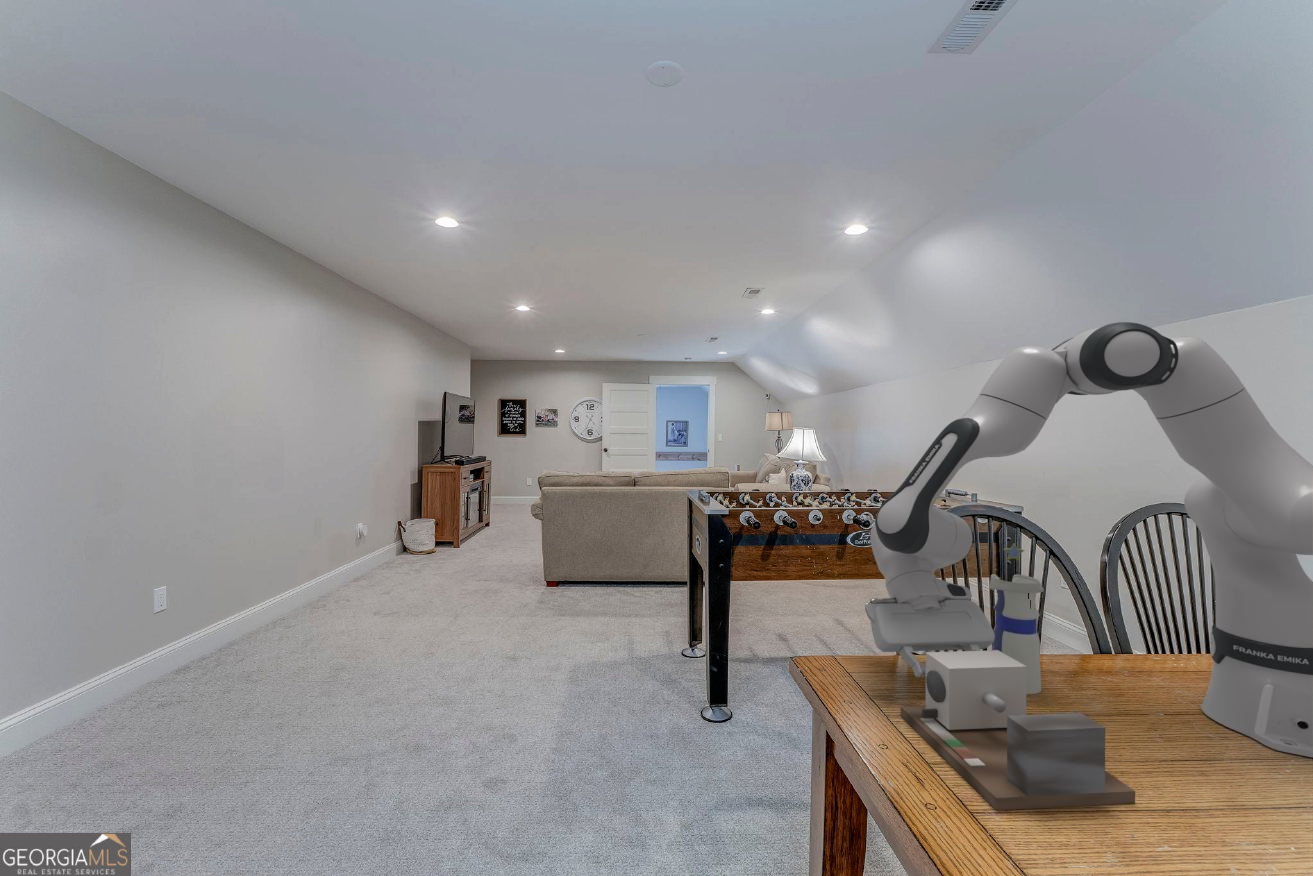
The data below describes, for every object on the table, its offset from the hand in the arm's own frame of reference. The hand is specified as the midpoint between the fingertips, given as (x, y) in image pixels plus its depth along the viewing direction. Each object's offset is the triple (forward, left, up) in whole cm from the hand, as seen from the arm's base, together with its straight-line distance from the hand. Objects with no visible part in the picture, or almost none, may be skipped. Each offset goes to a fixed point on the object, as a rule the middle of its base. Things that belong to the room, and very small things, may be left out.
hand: (949, 674), depth 89 cm
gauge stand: (-9, +9, -6) cm, 14 cm away
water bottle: (-7, -18, -6) cm, 20 cm away
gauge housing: (-5, +6, -4) cm, 9 cm away
